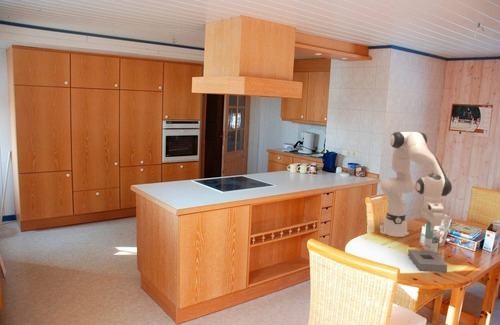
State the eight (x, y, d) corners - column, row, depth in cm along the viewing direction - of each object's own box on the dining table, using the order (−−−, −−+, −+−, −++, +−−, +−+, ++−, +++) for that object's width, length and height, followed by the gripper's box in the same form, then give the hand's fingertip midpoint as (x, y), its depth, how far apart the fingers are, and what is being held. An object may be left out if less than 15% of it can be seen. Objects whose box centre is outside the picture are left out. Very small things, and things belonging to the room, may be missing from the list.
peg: (423, 236, 218) (425, 218, 216) (431, 236, 217) (432, 219, 216) (426, 238, 214) (427, 221, 212) (434, 239, 213) (435, 221, 212)
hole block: (407, 256, 228) (408, 249, 228) (432, 257, 227) (433, 250, 227) (419, 270, 209) (420, 263, 208) (446, 272, 207) (447, 265, 207)
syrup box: (430, 256, 229) (432, 232, 227) (423, 252, 235) (425, 229, 233) (438, 255, 231) (440, 231, 229) (431, 251, 237) (433, 228, 234)
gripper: (419, 199, 223) (417, 222, 225) (432, 209, 203) (430, 234, 205) (431, 199, 223) (428, 223, 225) (445, 209, 202) (442, 235, 205)
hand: (429, 228), depth 215 cm, fingers closed on peg, 4 cm apart
